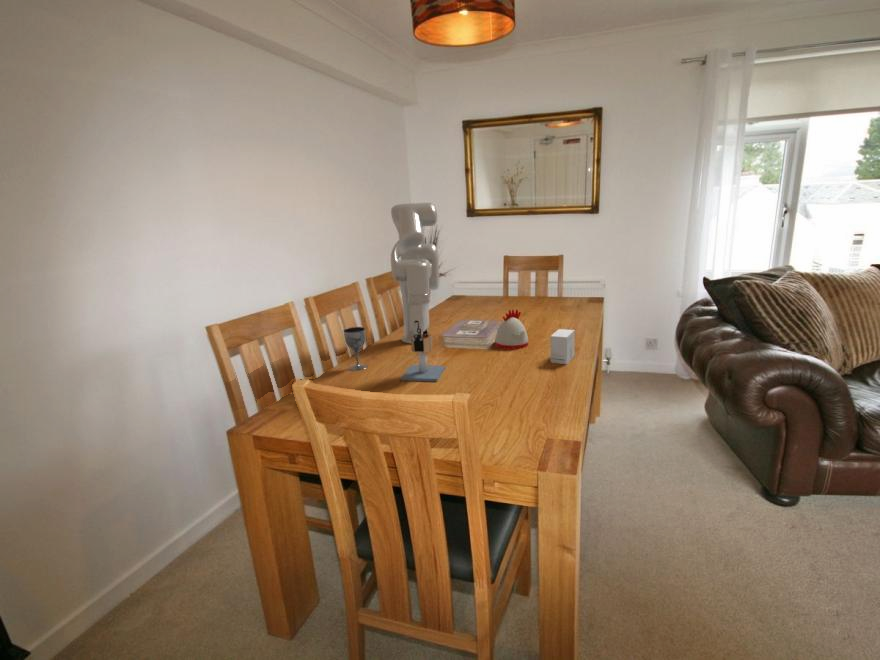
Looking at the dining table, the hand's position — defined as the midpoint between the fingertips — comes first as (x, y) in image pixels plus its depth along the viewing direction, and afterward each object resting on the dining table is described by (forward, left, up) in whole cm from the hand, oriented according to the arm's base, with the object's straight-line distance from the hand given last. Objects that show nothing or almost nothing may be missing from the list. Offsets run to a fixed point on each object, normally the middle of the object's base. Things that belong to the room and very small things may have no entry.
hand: (422, 347), depth 163 cm
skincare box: (-20, +49, -10) cm, 54 cm away
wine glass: (-5, -27, -10) cm, 29 cm away
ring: (0, 0, -1) cm, 1 cm away
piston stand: (0, 0, -10) cm, 10 cm away
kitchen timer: (-38, +29, -10) cm, 49 cm away
